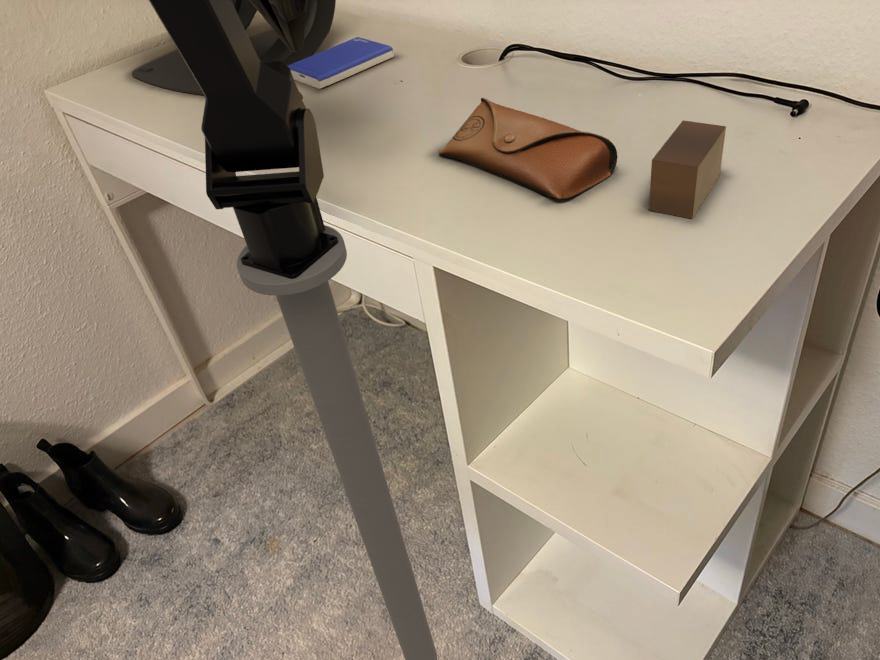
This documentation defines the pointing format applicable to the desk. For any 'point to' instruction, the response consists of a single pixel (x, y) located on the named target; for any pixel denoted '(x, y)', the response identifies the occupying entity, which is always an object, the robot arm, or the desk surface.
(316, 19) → the laptop stand
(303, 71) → the hard drive
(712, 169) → the walnut block
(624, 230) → the desk surface
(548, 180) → the sunglasses case
